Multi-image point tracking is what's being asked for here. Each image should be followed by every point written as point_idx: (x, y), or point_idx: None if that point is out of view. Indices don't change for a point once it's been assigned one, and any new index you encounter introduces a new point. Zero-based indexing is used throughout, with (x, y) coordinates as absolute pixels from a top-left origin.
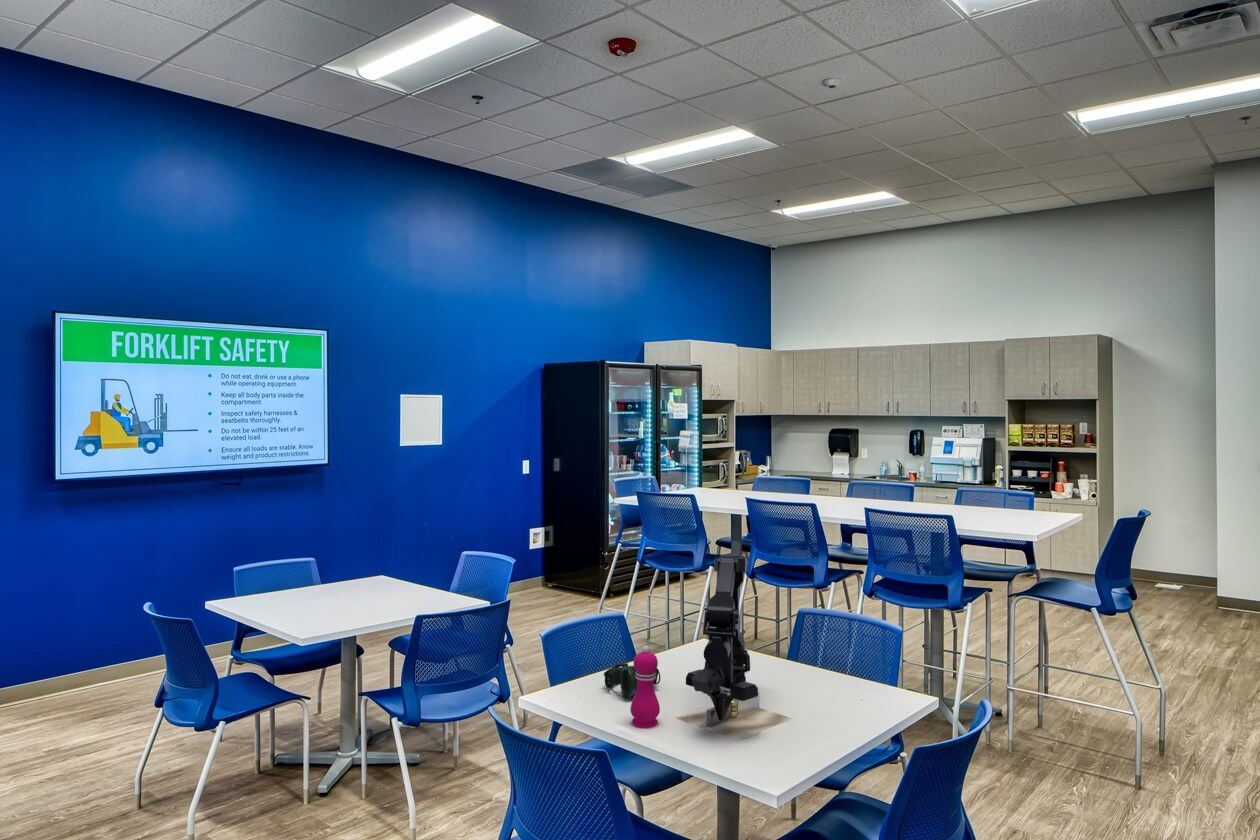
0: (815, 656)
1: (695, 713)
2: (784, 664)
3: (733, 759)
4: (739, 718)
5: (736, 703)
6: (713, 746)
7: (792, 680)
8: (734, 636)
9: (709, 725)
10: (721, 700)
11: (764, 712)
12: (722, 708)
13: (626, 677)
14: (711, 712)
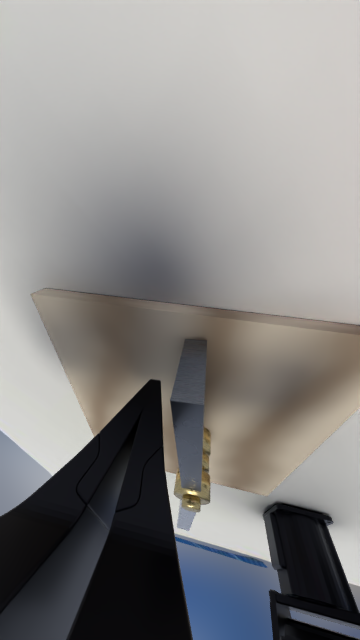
0: (246, 562)
1: (323, 415)
2: (267, 557)
3: None
4: (173, 429)
5: (175, 484)
6: (61, 195)
7: (227, 533)
8: None
9: (189, 340)
10: (27, 516)
11: None
12: (98, 436)
13: None
14: (173, 397)
